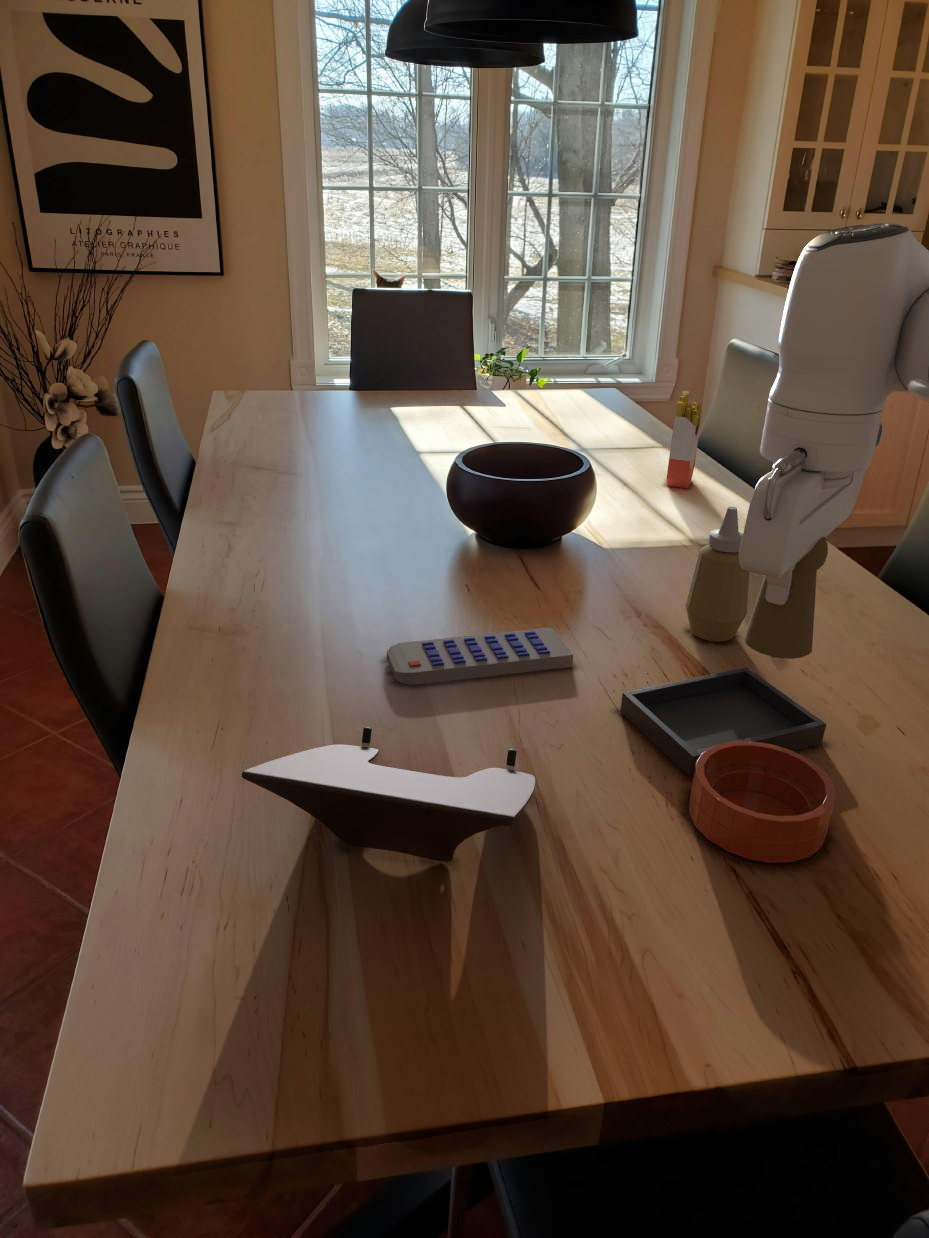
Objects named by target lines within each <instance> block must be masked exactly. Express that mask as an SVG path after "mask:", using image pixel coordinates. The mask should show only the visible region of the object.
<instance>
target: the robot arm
mask: <svg viewBox="0 0 929 1238" xmlns="http://www.w3.org/2000/svg"><path fill="white" fill-rule="evenodd" d="M792 273H793V274H792V276H791V280H790V283H789V288H788V290H787V291H788V292H787V296H786V298H785V299H786V300H785V304H784V308H783V313H782V317H781V322H780V327H779V333H778V340H777V349H778V359H779V360H778V362H779V363H778V369H777V370H778V371H777V374H776V377H775V380H774V382H773V384H772V386H771V388H770V391H769V395H768V398H767V405H766V412H765V418H764V423H763V429H762V435H761V436H762V437H761V441H760V446H759V447H760V448H759V453H760V456H762V457H763V458H765V460H768V461H770V462H772V463H773V464H772V467H771V471H769V472H767V473H766V474H765V475H764V476H762V477H761V478H760V479H759V480H758V482H757V483H756V485H755V487H754V489H753V492H752V494H751V499H750V500H749V501H750V502H749V505H748V510H747V514H746V518H745V523H744V527H743V531H742V533H743V536H742V541H741V546H740V551H739V562H740V566H741V568H742V569H744V570H746V571H750V573H753V574H757V575H761V576H766V578H767V589H766V595H765V598H766V600H767V601H768V602H771V603H774V604H778V605H783V604H785V603H786V601H788V599H789V598H790V597H791V592H792V588H793V583H794V582H791V579H792V570H793V569H794V568H795V564H796V563H797V562H799V561H800V560H801V559H802V558H803V557H804V556H805V555H806V554H807V553H809V552H810V551H811V550H812V549H813V547H814V546H815V544H816V543H817V542H818V541H819V539H820V538H822V537H825V538H826V537H828V536H829V535H831V533H833V531H835V529H836V528H838V527H839V526H840V525H841V524H842V523H843V522H844V521H845V520H847V519H848V518H849V516H850V515H851V514H852V512H853V509H854V507H855V505H856V503H857V501H858V497H859V494H860V491H861V488H862V485H863V481H864V479H865V475H866V471H867V468H869V467H870V466H871V464H872V462H873V457H874V452H875V449H876V448H877V447H878V446H879V445H880V443H881V439H882V437H883V432H884V422H883V421H882V418H883V413H884V408H885V403H886V400H887V398H888V396H890V395H891V394H892V393H896V392H905V393H908V394H910V395H912V396H913V397H915V398H917V399H919V400H921V401H923V402H926V403H929V249H927V248H926V247H925V246H924V245H923V244H922V243H921V242H919V241H918V240H917V239H916V237H915V236H914V234H913V232H912V230H911V229H910V227H908V226H904V225H902V224H897V223H887V222H886V223H882V222H881V223H872V224H857V225H850V226H844V227H840V228H839V227H838V228H836V229H832V230H831V229H830V230H828V231H825V232H823V233H821V234H819V235H817V236H816V237H814V238H813V239H812V240H810V241H809V242H808V243H807V244H806V245H805V247H804V248H803V250H802V251H801V253H800V255H799V257H798V260H797V262H796V264H795V267H794V271H793V272H792Z"/></svg>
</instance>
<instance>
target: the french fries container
mask: <svg viewBox="0 0 929 1238" xmlns="http://www.w3.org/2000/svg"><path fill="white" fill-rule="evenodd" d="M681 394H682V395H680V396H679V400H678V401H677V403H676V412H675V415H674V418H673V426H672V433H671V441H670V448H669V449H670V450H669V457H668V465H667V473H666V486H667V487H670V488H671V487H672V488H680V489H686V490H687V489H689V487H690V484H691V483H692V479H693V474H694V470H695V465H696V459H697V458H696V457H697V452H698V443H699V438H700V437H699V436H700V430H701V423H702V413H703V403H701V402H694V401H693V402H692V403H689V398H690V391H686V390H682V392H681Z"/></svg>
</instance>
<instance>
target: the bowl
mask: <svg viewBox="0 0 929 1238" xmlns="http://www.w3.org/2000/svg"><path fill="white" fill-rule="evenodd" d="M834 785H835V784H834V783H833V781H832V780H831V778H830V776H829V775H828V774H827V772H826V771H825V770H824V769H823V768H822V767H820V766H819V765H817V764H816V763H815V762H813V761H812V760H811V759H809V758H807V757H806V756H804V755H802V754H800V753H797V752H796V751H792V750H789V749H785V748H782V747H779V746H776V745H772V744H767V743H760V742H753V741H732V742H727V743H723V744H719V745H715V746H713V747H711V748H709V749H708V750H706V751H704V752H703V753H702V754H701V756H700V757H699V759H698V760H697V762H696V766H695V772H694V776H693V779H692V784H691V791H690V796H689V805H688V806H689V810H688V811H689V816H690V818H691V820H692V822H693V824H694V826H695V828H696V829H697V830H698V831H699V832H700V833H701V834H702V835H703V837H705V838H706V839H707V840H708V841H710V842H711V843H713V844H715V845H716V846H718V847H720V848H721V849H723V850H724V851H726V852H728V853H730V854H733V855H736V856H738V857H741V858H744V859H747V860H750V861H756V862H763V863H768V864H780V863H782V864H783V863H795V862H798V861H801V860H804V859H807V858H810V857H812V856H813V855H815V854H816V853H817V852H818V851H819V850H820V849H822V848H823V845H824V842H825V840H826V837H827V834H828V829H829V826H830V820H831V817H832V815H833V809H834V806H835V802H836V798H837V794H836V789H835V786H834Z"/></svg>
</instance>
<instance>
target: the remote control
mask: <svg viewBox="0 0 929 1238" xmlns="http://www.w3.org/2000/svg"><path fill="white" fill-rule="evenodd" d="M386 661H387V664H388V665H389V668H390V671H391V672H392V675H393V677H394V680H395V681H397V682H399V683H401V684H404V685H410V686H416V685H424V684H425V685H427V684H435V683H443V682H444V683H445V682H453V681H461V680H468V679H470V680H471V679H476V678H477V679H478V678H486V677H495V676H496V677H497V676H503V675H504V676H505V675H511V674H513V675H514V674H521V673H529V672H538V671H547V670H556V669H565V668H572V667H573V662H574V654H573V652H572V651H571V649H569V647H568V646H567V645H566V644H565V642H563V640H562V638H560V636H559V635H558V634H557V632H556V631H555V630H554V629H553V628H552V627H542V628H541V627H540V628H532V629H523V630H514V631H503V632H494V633H493V632H492V633H484V634H483V633H482V634H475V635H464V636H455V637H444V638H433V639H425V640H416V641H415V640H414V641H406V642H398V643H396V644H394V645H391V646H390V647H389V648H388V649H387V651H386Z"/></svg>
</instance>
